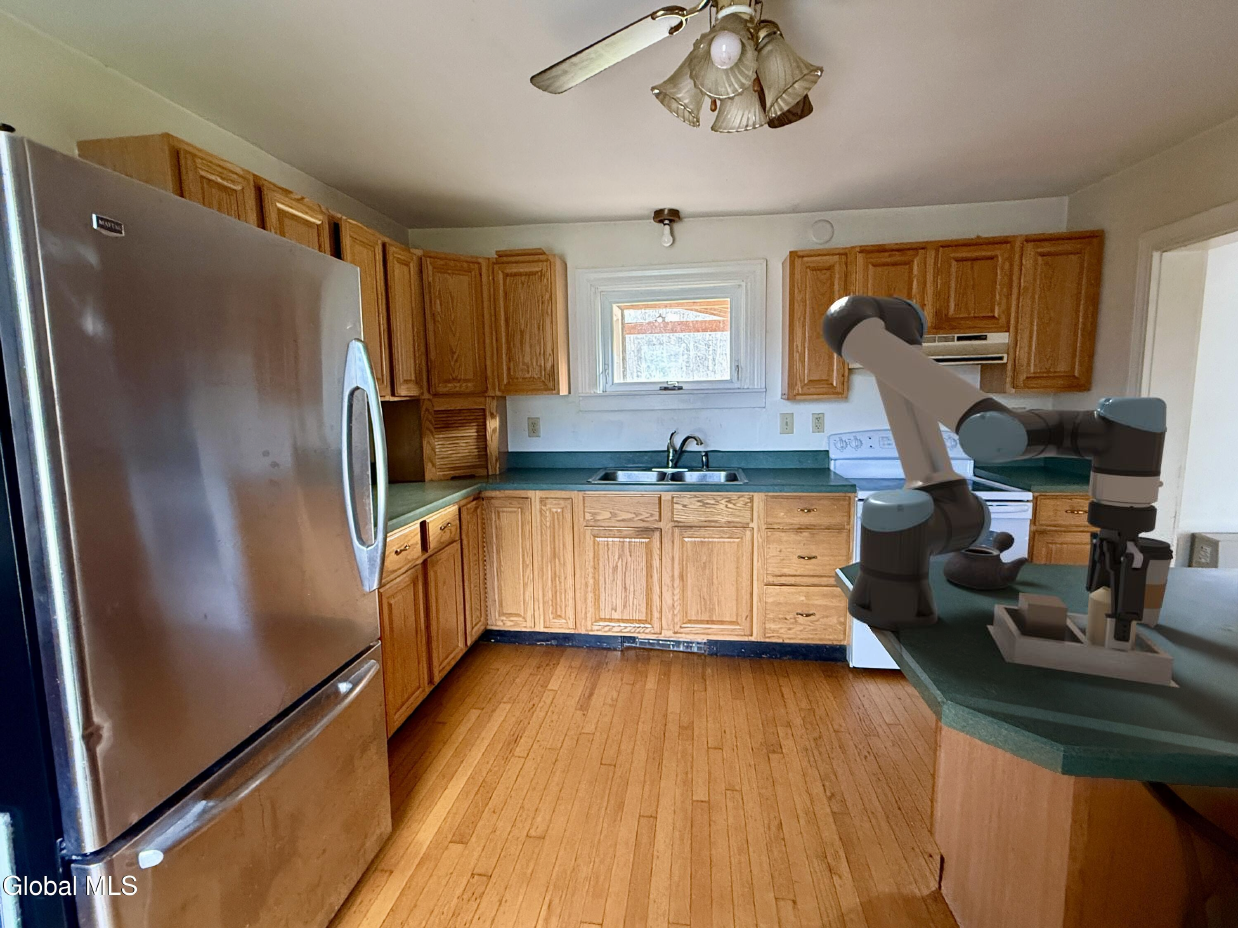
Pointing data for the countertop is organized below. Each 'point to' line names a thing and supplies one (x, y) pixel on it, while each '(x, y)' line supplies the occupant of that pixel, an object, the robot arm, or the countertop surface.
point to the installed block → (1042, 616)
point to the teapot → (984, 565)
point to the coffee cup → (1155, 577)
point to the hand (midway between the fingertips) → (1107, 649)
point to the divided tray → (1081, 651)
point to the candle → (1101, 617)
